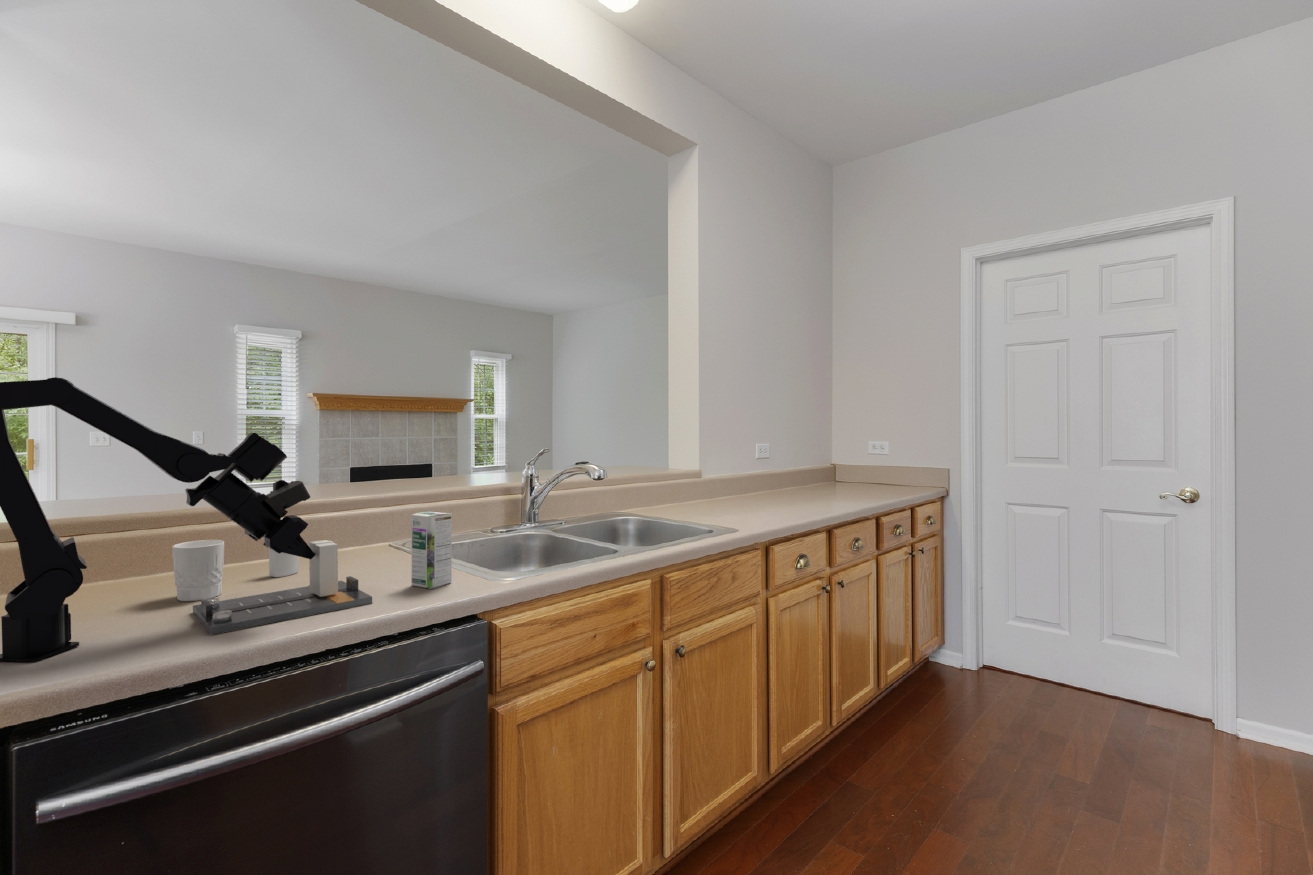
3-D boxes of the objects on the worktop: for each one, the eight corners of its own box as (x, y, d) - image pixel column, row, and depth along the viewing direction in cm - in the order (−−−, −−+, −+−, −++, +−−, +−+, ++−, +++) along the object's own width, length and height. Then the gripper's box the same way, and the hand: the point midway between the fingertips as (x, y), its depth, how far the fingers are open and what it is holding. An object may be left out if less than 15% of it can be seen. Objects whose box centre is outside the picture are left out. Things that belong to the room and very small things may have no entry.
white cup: (197, 603, 112) (196, 548, 111) (161, 601, 113) (160, 546, 113) (235, 592, 119) (234, 540, 119) (201, 589, 121) (200, 539, 121)
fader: (319, 596, 110) (319, 545, 110) (309, 590, 115) (308, 540, 114) (338, 593, 113) (337, 543, 112) (327, 587, 117) (327, 538, 117)
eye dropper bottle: (268, 574, 133) (267, 519, 133) (298, 570, 136) (297, 516, 136) (269, 578, 130) (269, 521, 129) (300, 574, 133) (300, 519, 133)
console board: (211, 635, 95) (210, 614, 95) (192, 612, 106) (192, 593, 106) (372, 603, 112) (372, 585, 112) (341, 586, 123) (341, 570, 123)
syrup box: (410, 586, 124) (409, 513, 123) (433, 579, 129) (432, 510, 129) (430, 589, 121) (429, 515, 121) (453, 582, 126) (452, 512, 126)
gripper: (292, 469, 101) (363, 527, 109) (263, 463, 115) (329, 516, 123) (236, 522, 96) (316, 580, 104) (213, 510, 109) (285, 562, 117)
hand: (312, 556), depth 112 cm, fingers closed, pressing on fader
